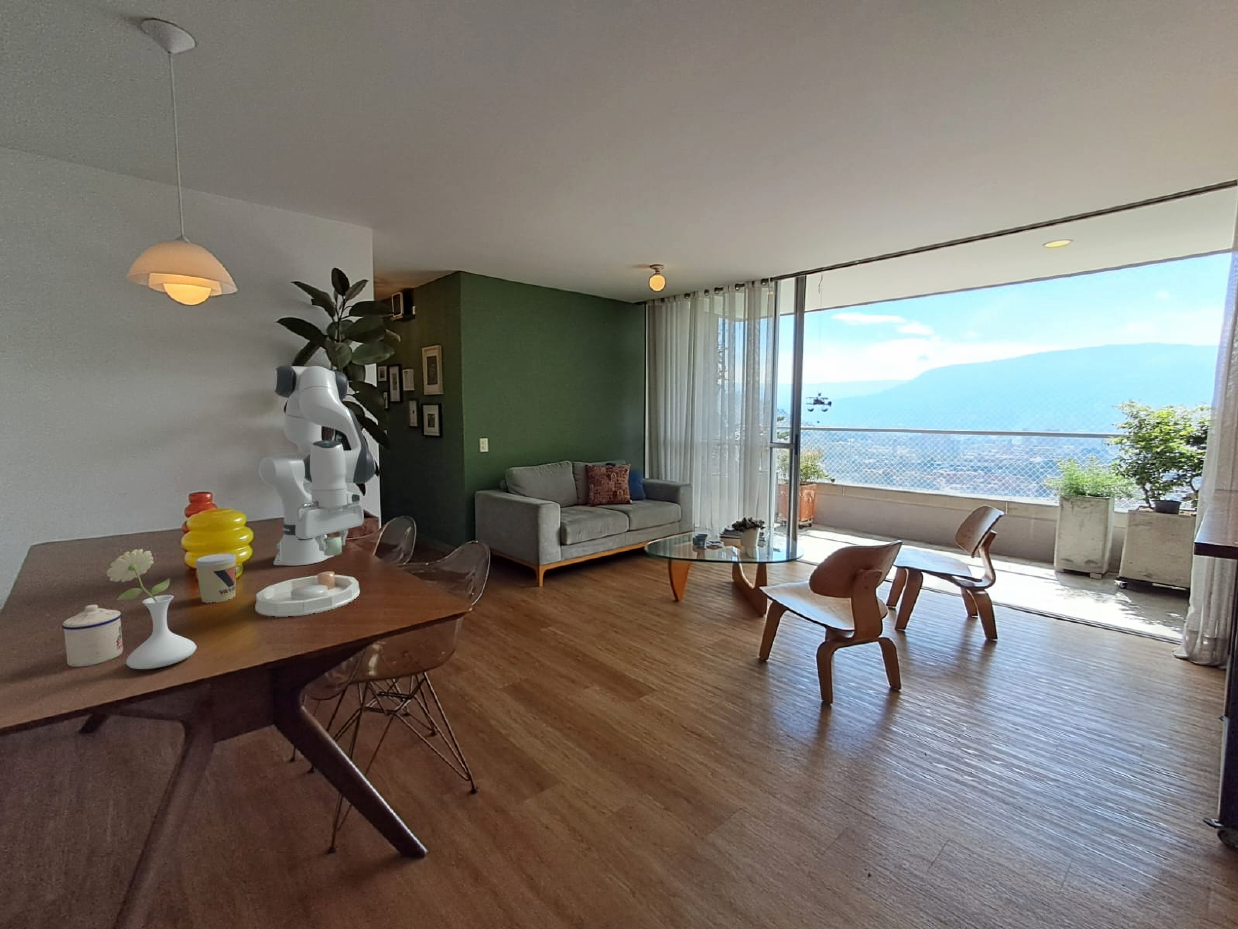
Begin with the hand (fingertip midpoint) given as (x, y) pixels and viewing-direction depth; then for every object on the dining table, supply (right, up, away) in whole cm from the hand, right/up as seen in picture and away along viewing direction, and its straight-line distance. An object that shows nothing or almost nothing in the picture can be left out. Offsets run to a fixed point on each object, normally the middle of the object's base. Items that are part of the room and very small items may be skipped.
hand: (332, 548), depth 149 cm
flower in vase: (-17, -19, -36) cm, 45 cm away
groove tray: (-8, -15, +2) cm, 17 cm away
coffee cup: (-35, -15, +4) cm, 38 cm away
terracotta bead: (-7, -13, +10) cm, 18 cm away
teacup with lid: (-34, -19, -33) cm, 51 cm away
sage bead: (0, -2, 0) cm, 2 cm away
